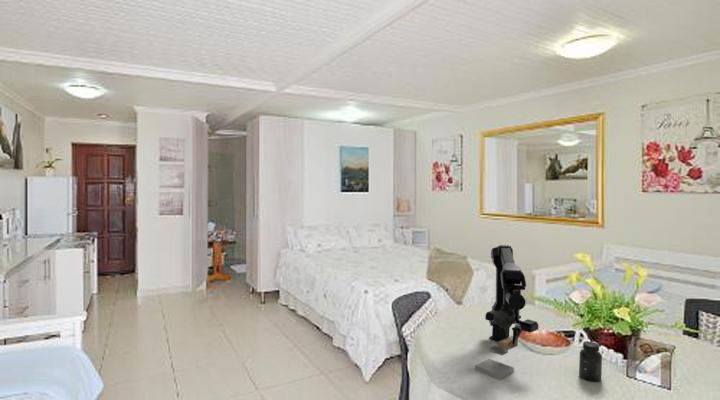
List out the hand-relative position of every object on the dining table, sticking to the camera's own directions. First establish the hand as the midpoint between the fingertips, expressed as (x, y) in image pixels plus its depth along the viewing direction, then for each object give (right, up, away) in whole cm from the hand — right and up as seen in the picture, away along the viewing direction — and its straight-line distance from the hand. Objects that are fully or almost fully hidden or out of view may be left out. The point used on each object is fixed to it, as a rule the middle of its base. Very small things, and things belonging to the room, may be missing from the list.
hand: (510, 343), depth 156 cm
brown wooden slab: (-2, -1, -2) cm, 3 cm away
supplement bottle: (+24, -8, -11) cm, 28 cm away
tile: (-5, -7, -4) cm, 9 cm away
